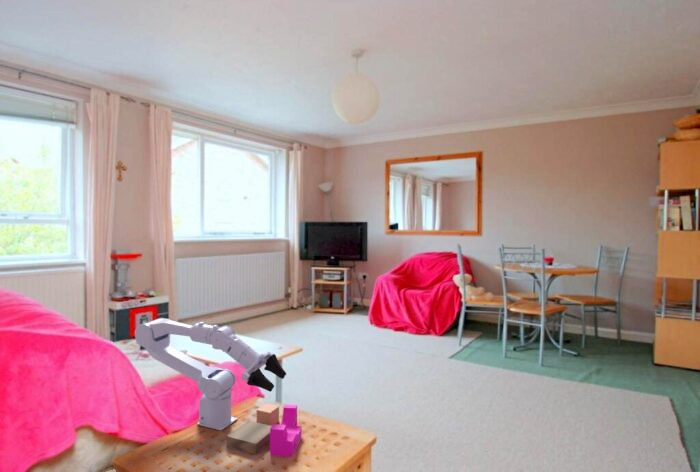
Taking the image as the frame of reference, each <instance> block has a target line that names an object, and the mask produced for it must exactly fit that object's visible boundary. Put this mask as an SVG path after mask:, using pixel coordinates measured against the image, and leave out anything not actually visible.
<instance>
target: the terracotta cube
mask: <svg viewBox="0 0 700 472" xmlns="http://www.w3.org/2000/svg"><path fill="white" fill-rule="evenodd" d="M256 422H257V423H261V424H265V425H270V426H272V425H273V424H278V423H279V422H280V406H279V405H275V404H270V403H265V404H263V405H262V406H260V407H259V408H257V409H256Z"/></svg>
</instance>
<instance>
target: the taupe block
mask: <svg viewBox="0 0 700 472" xmlns="http://www.w3.org/2000/svg"><path fill="white" fill-rule="evenodd" d="M271 427H272V426H270V425H265V424H261V423H257V421H254V420H253V421H252V420H247V421H246V422H244V423H243V424H241V425H240V426H238V428H236V429H234V430H233V431H232V432H230V433H228V435H227V436H226V447H227V448H230V449H234V450H238V451H242V452H245V453H249V454H253V455H257V454H259V453H261V451H262V450H264V448H266V447H267V446H268V445H270V428H271Z"/></svg>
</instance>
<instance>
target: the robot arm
mask: <svg viewBox="0 0 700 472" xmlns="http://www.w3.org/2000/svg"><path fill="white" fill-rule="evenodd" d="M171 335H175V336H176V335H177V336H183V337H189V338H190V340H191V342H195V343H202V344H206V345H210V346H211V347H212V349H215V350H220V351H222V352H224V353H225V354H226V355H228V356H229V357H230V358H231V359H233V360H234V361H235V362H236V363H238V364H239V365H241V366H242V367H243V368H244V369H245V371H244V372H243V373H242V375H241V376H240V378H241V379H242V380H243V381H244V382H246V384H247V385H248V386H254V387H258V388H261V389H263V390H265V391H268V392H272V391H273V389H274V387H275V384H274V383H273V382H271V380H269V379H268V378H267V377H266V376H265V374H264V373H263V372H262V371H261V368H262V367H263V366H264V365H265V366H264V368H263V369H264V371H268V372H270V373H272V374H274V375H275V376H277V377H278V378H280V379H282V380H283V379H284V378H285V377H286V376H287V372H286V371H285V370H284V368H283V367H282V366H281V364H280V362H279V361H278V357H277V355H276V354H275V353H271V352H270V351H267V352H266V353H261V354H260V353H258V352H257V351H255V350H254V349H253V348H252V347H251V346H250V345H248V344H247V343H246V342H245V341H243V340H242V339H241V338H240V337H238V336H237V335H236V333H235V330H234V328H233V327H232V326H229V325H227V324H225V325H222V326H219V325H218V324H214V325H212V324H211V325H210V324H205V322H204V321H201V322H197V323H195V324H194V325H191V324H187V323H182V322H177V321H175V320H171V319H170V318H164V317H158V318H156V319H154V320H152V321H148V322H145V323H140V324H138V325H137V326H136V328H135V330H134V337H135V342H136V344H137V345H139V346H141V347H142V348H144V349H145V350H146V352H147V353H148V354H149V355H150V356H151V357H152V358H153V359H154V360H156V361H158V362H160V363H161V364H164V365H165V366H167V367H169V368H171V369H172V370H175V371H177V372H178V373H180V374H181V375H183V376H186V377H187V378H189V379H191V380H193V381H195V382H196V383H197V390H199V391H200V392H201V393H203V394H202V395H201V397H200V400H199V402H198V422H197V425H198V426H201V427H206V428H209V429H213V430H218V431H223V430H224V429H226V428H227V427H229V426H230V425H231V424H233V423H235V422H236V421H237V420H238V417H235V416H232V392H233V391H232V387H233V386H234V385H235V383H236V376H235V373H234V372H233V371H232V370H230V369H227V368H220V367H219V366H208V365H206V364H204V363H203V362H200V361H199V360H196V359H195V358H193V357H191V356H190V355H187V354H186V353H184V352H181V351H180V350H178V349H176V348H174V347H172V346H171V345H170V343H171Z"/></svg>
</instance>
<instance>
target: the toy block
mask: <svg viewBox="0 0 700 472" xmlns="http://www.w3.org/2000/svg"><path fill="white" fill-rule="evenodd" d="M281 418H282V419H281V423H280V424H278V423H276V424H273V425H272V427H271V428H270V443H269V455H270V456H279V457H287V458H288V457H289V458H293V457H294V454H295V452H296V450H297V448H298V445H299V443H300V441H301V439H302V425H298V405H297V404H284V406H283V410H282V417H281Z"/></svg>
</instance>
